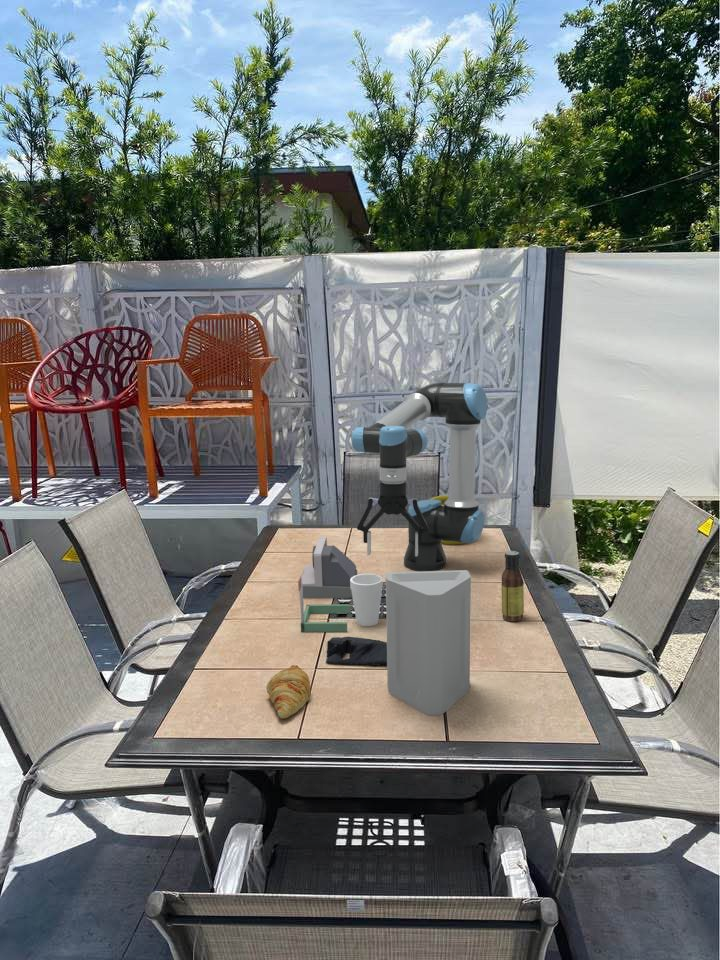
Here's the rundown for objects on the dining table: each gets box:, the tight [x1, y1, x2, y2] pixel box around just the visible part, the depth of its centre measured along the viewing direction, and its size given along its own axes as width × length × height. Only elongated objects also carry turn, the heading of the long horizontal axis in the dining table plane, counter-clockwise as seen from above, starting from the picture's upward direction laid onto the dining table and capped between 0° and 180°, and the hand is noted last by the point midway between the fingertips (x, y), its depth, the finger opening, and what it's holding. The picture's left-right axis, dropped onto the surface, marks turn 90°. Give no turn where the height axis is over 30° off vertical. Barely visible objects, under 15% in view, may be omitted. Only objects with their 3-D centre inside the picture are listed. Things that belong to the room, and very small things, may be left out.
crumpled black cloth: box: [325, 636, 387, 666], centre depth 184 cm, size 15×22×5 cm
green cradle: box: [297, 574, 351, 633], centre depth 201 cm, size 13×18×16 cm
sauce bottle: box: [501, 550, 525, 623], centre depth 202 cm, size 7×6×20 cm
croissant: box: [266, 664, 311, 719], centre depth 163 cm, size 21×10×8 cm, turn 179°
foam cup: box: [350, 573, 384, 627], centre depth 203 cm, size 10×9×13 cm
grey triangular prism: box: [385, 569, 472, 716], centre depth 159 cm, size 19×15×28 cm
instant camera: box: [301, 536, 358, 599], centre depth 231 cm, size 21×21×15 cm
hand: (392, 554), depth 201 cm, fingers open, 13 cm apart
